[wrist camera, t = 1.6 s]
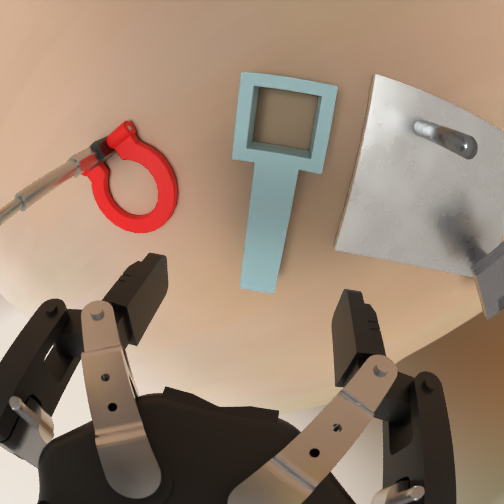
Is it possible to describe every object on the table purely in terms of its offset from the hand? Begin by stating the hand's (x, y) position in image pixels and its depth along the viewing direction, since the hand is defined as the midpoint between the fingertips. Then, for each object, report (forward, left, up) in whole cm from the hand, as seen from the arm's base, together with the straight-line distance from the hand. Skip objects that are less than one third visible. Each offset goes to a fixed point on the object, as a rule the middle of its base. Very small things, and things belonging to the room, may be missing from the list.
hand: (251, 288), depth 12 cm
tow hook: (+1, -13, -13) cm, 18 cm away
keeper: (+1, +21, -12) cm, 24 cm away
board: (-4, +15, -12) cm, 20 cm away
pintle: (-8, +10, -12) cm, 18 cm away
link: (0, 0, -12) cm, 12 cm away
